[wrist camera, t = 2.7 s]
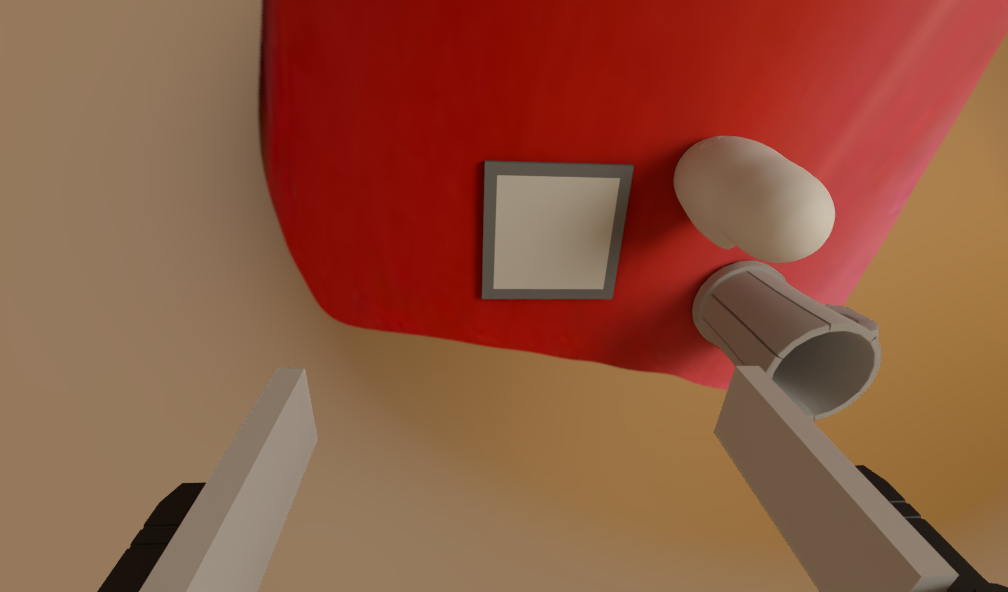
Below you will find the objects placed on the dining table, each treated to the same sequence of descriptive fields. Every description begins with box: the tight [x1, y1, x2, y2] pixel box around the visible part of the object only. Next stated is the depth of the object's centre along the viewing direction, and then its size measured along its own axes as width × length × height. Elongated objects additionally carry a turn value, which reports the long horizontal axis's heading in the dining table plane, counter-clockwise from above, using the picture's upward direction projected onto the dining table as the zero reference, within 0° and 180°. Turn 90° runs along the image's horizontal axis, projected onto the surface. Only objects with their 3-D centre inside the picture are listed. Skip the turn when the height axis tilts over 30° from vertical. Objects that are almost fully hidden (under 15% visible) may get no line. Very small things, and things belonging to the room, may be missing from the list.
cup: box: [692, 261, 881, 421], centre depth 39 cm, size 10×9×12 cm
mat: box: [482, 161, 634, 299], centre depth 39 cm, size 12×12×1 cm
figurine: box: [674, 136, 835, 263], centre depth 33 cm, size 7×8×12 cm
